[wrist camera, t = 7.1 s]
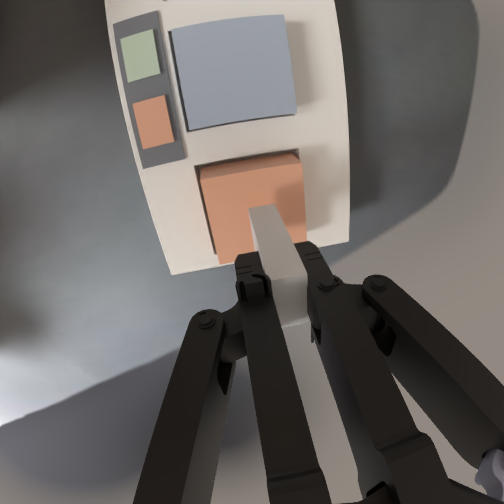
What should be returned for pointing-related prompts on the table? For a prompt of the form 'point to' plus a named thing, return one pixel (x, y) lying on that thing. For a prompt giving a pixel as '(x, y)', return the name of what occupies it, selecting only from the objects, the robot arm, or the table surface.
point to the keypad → (233, 133)
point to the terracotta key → (252, 200)
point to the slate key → (234, 70)
